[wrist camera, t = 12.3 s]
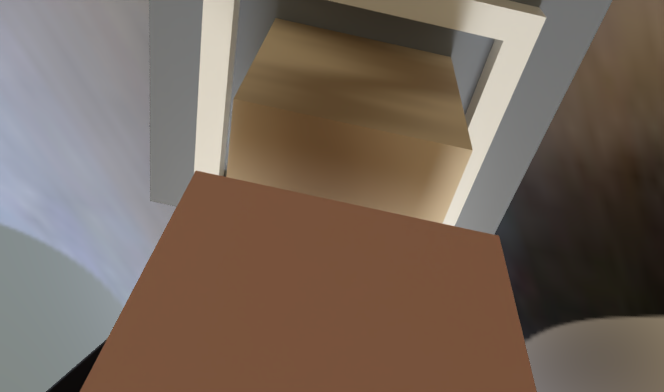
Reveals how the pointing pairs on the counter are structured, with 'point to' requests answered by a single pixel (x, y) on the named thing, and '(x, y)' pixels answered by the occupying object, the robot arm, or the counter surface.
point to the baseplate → (386, 26)
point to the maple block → (350, 122)
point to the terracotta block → (313, 302)
